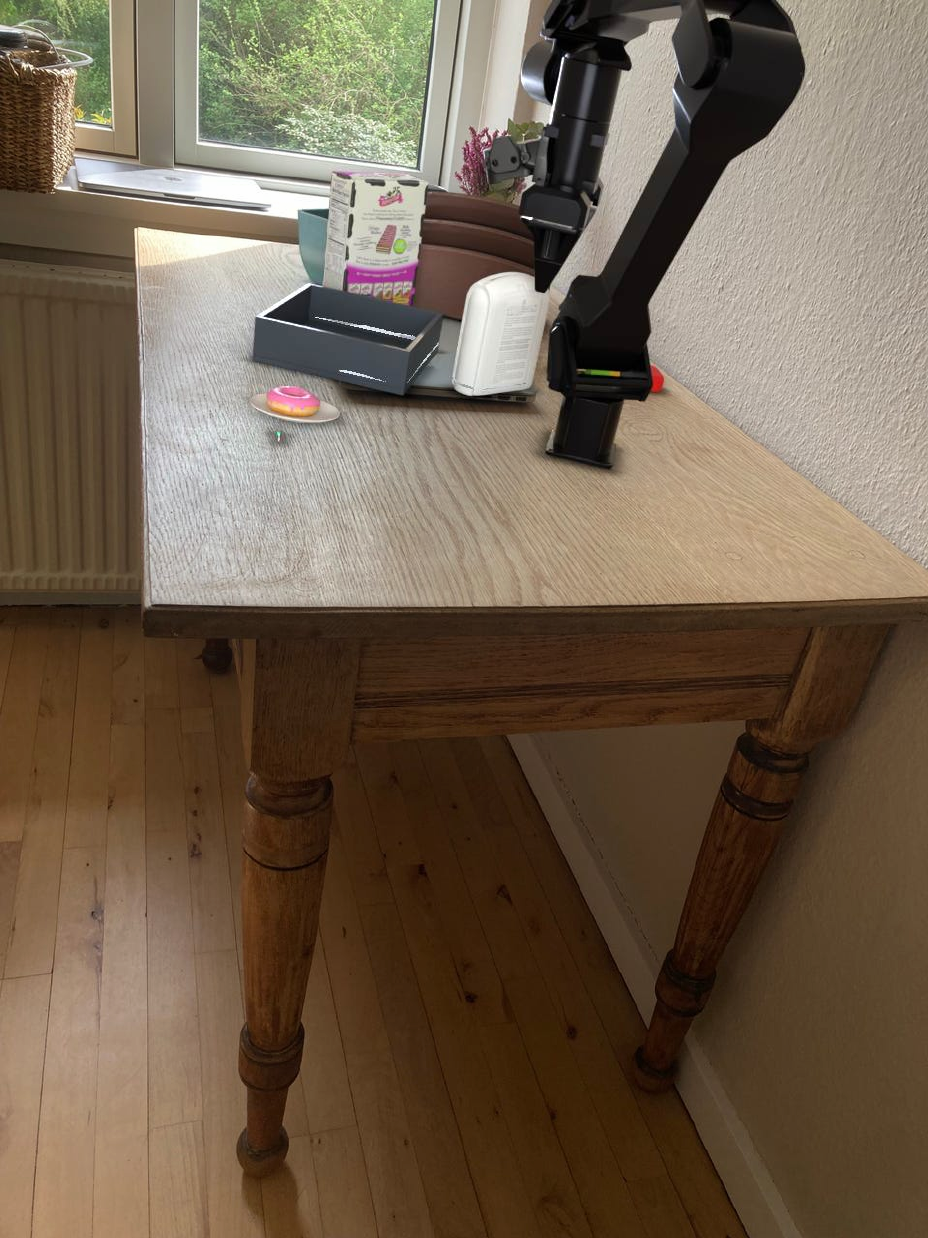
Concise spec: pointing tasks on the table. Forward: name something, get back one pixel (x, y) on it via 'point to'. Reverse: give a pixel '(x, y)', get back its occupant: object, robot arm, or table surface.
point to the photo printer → (500, 334)
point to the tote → (347, 337)
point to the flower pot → (313, 241)
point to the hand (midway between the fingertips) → (546, 282)
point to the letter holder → (467, 248)
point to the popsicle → (656, 375)
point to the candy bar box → (374, 234)
